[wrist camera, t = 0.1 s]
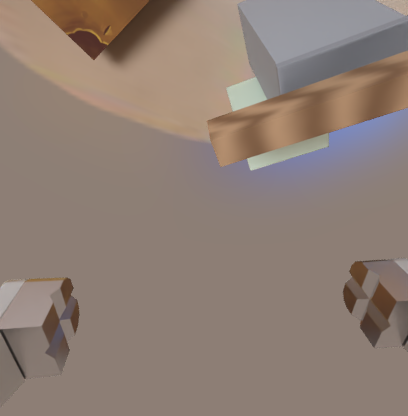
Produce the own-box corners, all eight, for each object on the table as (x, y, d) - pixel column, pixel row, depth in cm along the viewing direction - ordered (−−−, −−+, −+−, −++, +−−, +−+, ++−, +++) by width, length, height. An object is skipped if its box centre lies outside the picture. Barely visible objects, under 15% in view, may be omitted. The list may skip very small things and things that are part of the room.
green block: (235, 120, 63) (250, 170, 52) (226, 88, 57) (240, 135, 46) (298, 99, 61) (328, 146, 49) (295, 62, 55) (328, 106, 44)
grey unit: (248, 65, 54) (287, 145, 37) (236, 3, 47) (277, 67, 29) (319, 38, 52) (396, 110, 35) (318, -32, 44) (415, 16, 27)
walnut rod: (216, 146, 36) (220, 166, 34) (206, 120, 33) (210, 140, 31) (399, 86, 32) (420, 103, 30) (407, 50, 29) (431, 66, 27)
